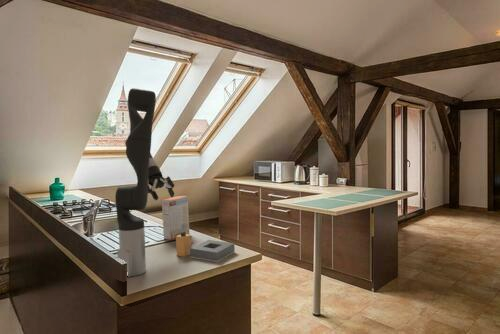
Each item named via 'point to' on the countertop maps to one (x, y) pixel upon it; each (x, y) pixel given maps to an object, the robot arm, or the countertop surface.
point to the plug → (183, 244)
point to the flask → (185, 229)
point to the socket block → (212, 250)
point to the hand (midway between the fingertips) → (165, 197)
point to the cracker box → (174, 216)
